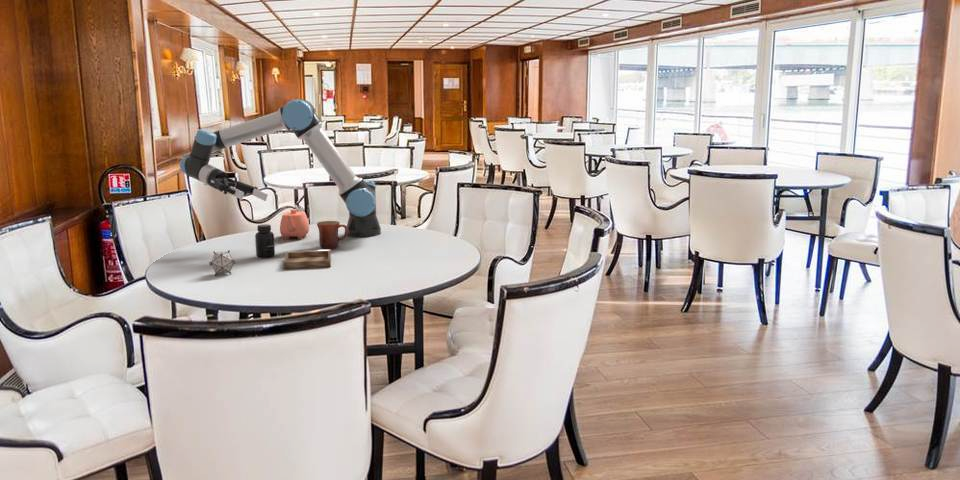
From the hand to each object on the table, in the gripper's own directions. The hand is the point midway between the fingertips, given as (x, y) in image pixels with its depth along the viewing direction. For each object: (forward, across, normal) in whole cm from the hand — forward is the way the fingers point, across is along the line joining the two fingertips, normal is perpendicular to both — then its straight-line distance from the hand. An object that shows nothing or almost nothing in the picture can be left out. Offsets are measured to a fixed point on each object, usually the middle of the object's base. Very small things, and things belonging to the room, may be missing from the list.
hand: (254, 196), depth 271 cm
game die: (+19, +28, -22) cm, 41 cm away
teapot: (+2, -31, -16) cm, 35 cm away
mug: (+28, -19, -10) cm, 36 cm away
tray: (+35, +4, -13) cm, 37 cm away
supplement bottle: (+15, +2, -19) cm, 24 cm away
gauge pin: (+29, -7, -12) cm, 32 cm away
